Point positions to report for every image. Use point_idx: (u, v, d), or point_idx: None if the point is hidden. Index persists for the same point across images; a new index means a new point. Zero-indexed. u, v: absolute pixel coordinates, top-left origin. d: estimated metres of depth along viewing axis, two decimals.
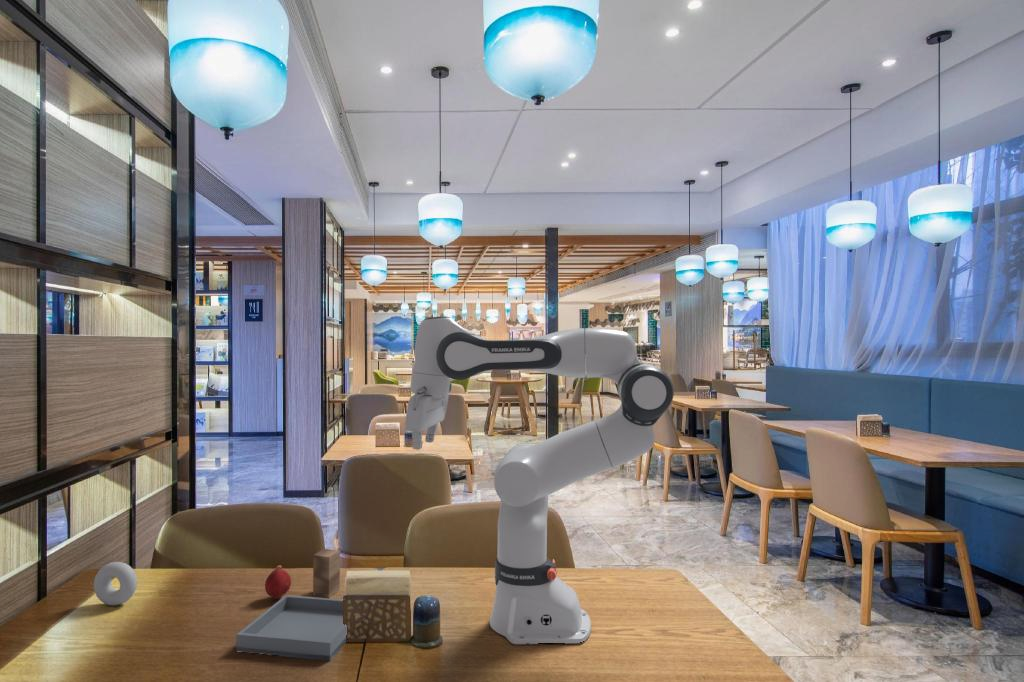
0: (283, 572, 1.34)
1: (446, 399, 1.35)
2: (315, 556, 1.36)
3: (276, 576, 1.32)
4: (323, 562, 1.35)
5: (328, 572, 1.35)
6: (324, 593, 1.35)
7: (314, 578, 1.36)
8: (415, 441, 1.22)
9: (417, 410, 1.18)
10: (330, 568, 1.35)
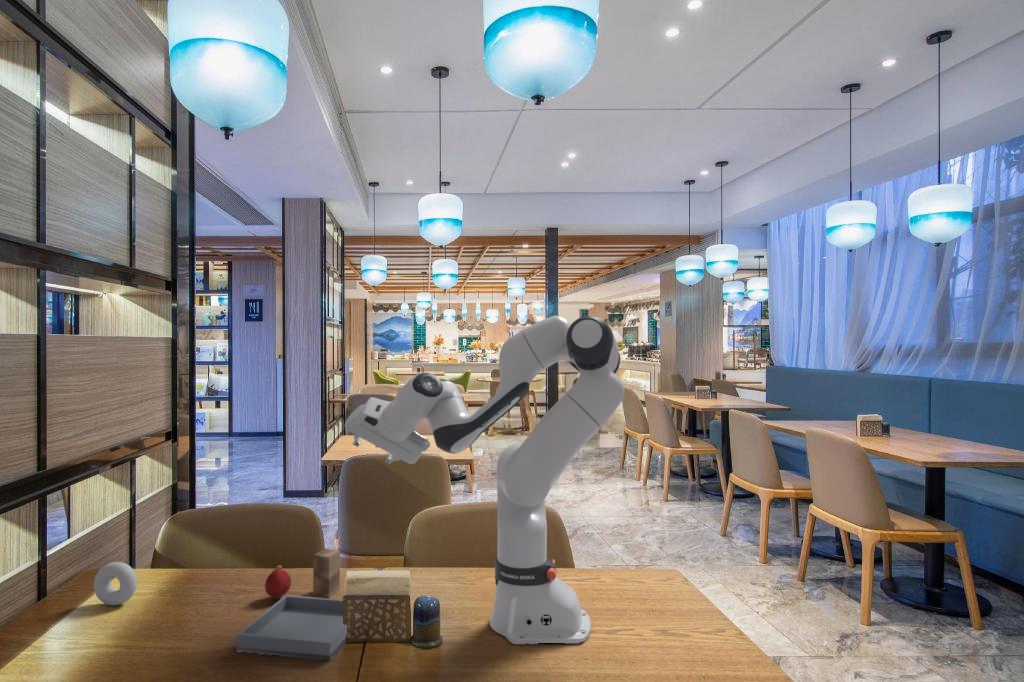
0: (283, 572, 1.34)
1: None
2: (315, 556, 1.36)
3: (276, 576, 1.32)
4: (323, 562, 1.35)
5: (328, 572, 1.35)
6: (324, 593, 1.35)
7: (314, 578, 1.36)
8: None
9: None
10: (330, 568, 1.35)
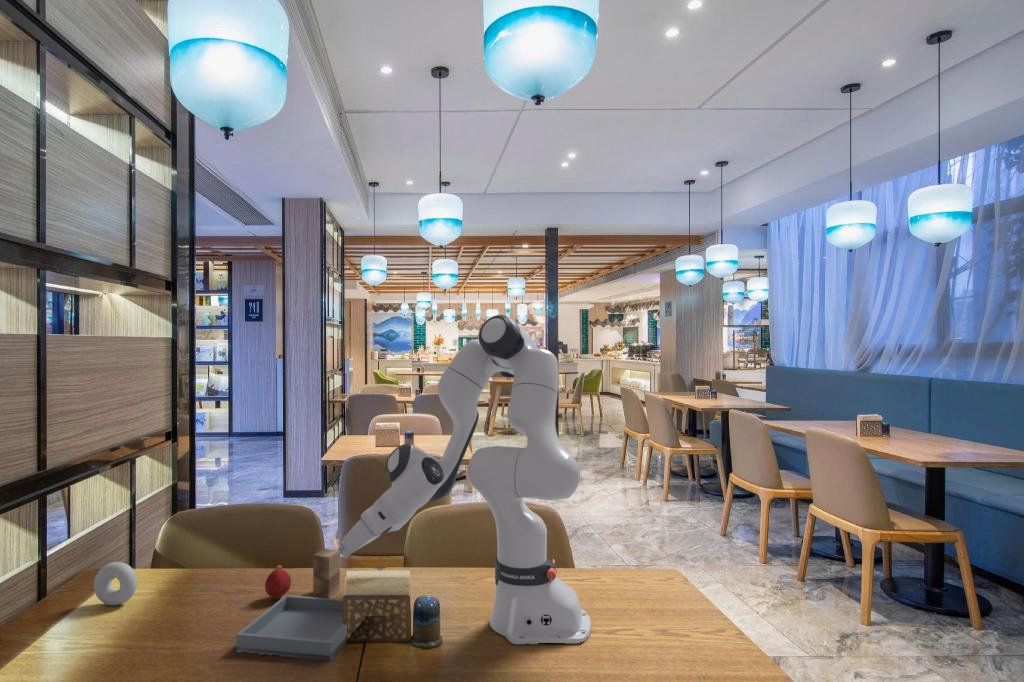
0: (283, 572, 1.34)
1: None
2: (315, 556, 1.36)
3: (276, 576, 1.32)
4: (323, 562, 1.35)
5: (328, 572, 1.35)
6: (324, 593, 1.35)
7: (314, 578, 1.36)
8: None
9: None
10: (330, 568, 1.35)
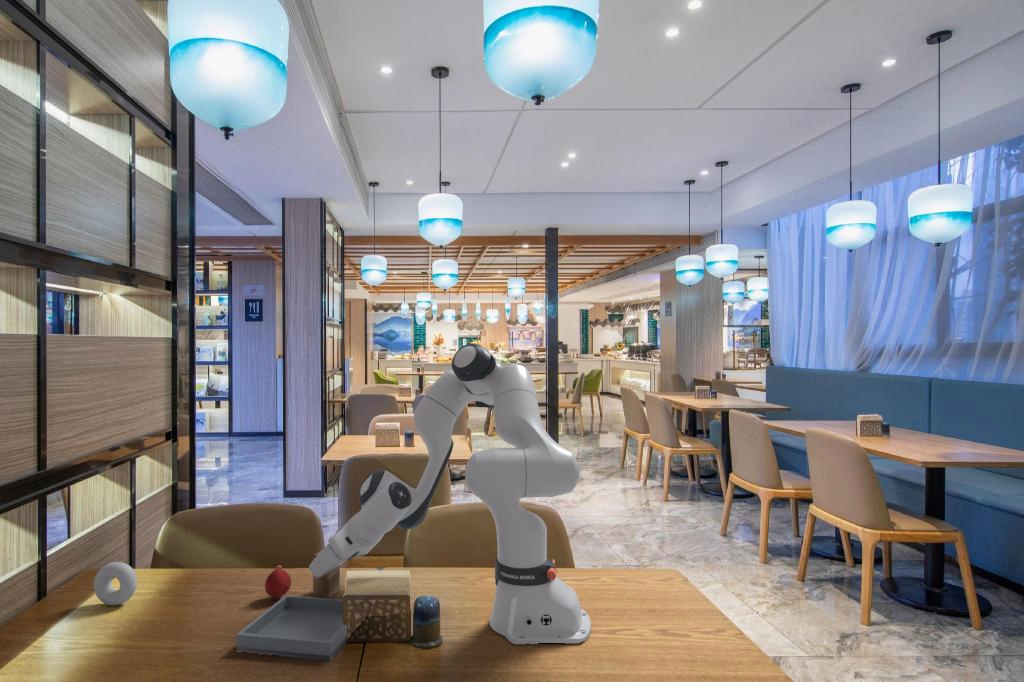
0: (283, 572, 1.34)
1: None
2: (315, 556, 1.36)
3: (276, 576, 1.32)
4: None
5: (328, 572, 1.35)
6: (324, 593, 1.35)
7: (314, 578, 1.36)
8: None
9: None
10: None
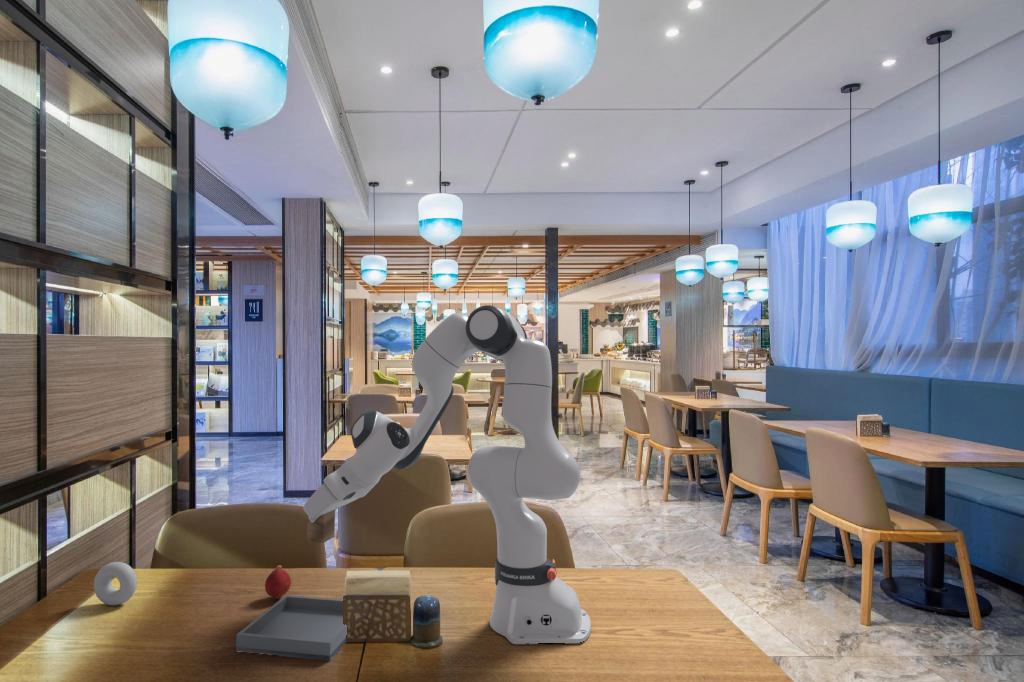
0: (283, 572, 1.34)
1: None
2: None
3: (276, 576, 1.32)
4: None
5: (323, 516, 1.31)
6: (319, 538, 1.31)
7: (308, 522, 1.31)
8: None
9: None
10: None
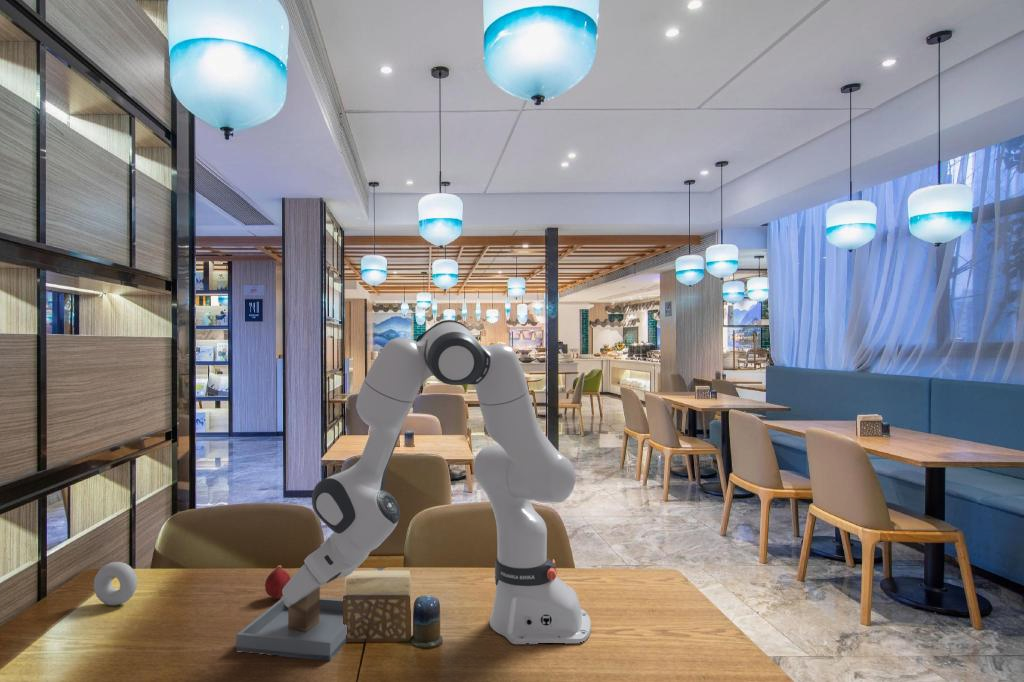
0: (283, 572, 1.34)
1: None
2: None
3: (276, 576, 1.32)
4: None
5: (305, 602, 1.17)
6: (301, 626, 1.17)
7: (289, 609, 1.18)
8: None
9: None
10: (308, 598, 1.17)
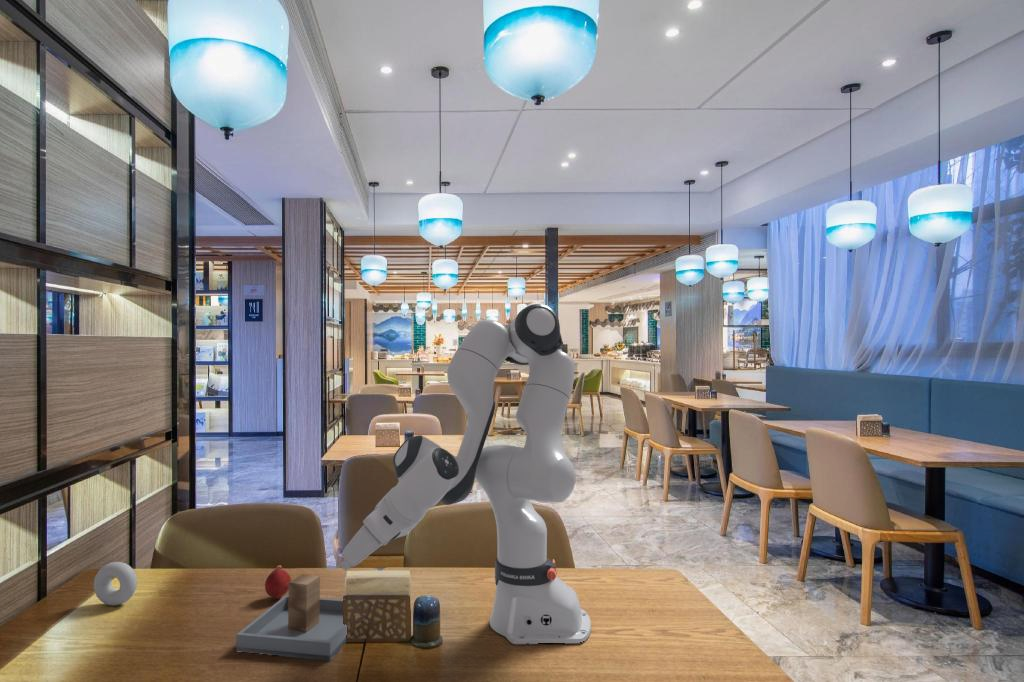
0: (283, 572, 1.34)
1: None
2: (291, 583, 1.18)
3: (276, 576, 1.32)
4: (300, 590, 1.17)
5: (305, 602, 1.17)
6: (301, 626, 1.17)
7: (289, 609, 1.18)
8: None
9: None
10: (308, 598, 1.17)
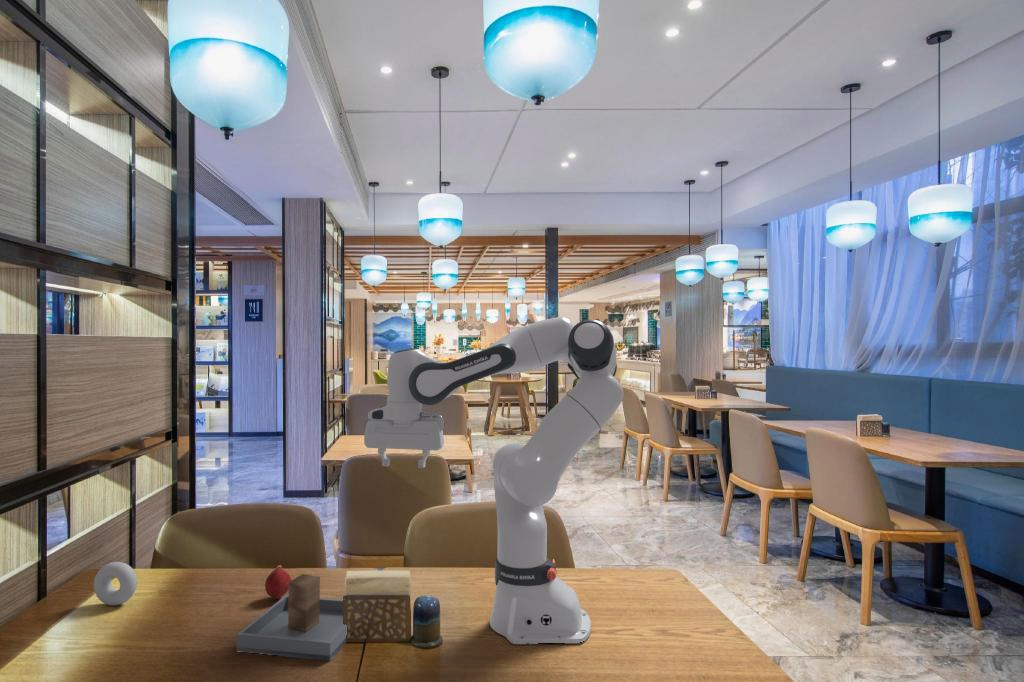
0: (283, 572, 1.34)
1: None
2: (291, 583, 1.18)
3: (276, 576, 1.32)
4: (300, 590, 1.17)
5: (305, 602, 1.17)
6: (301, 626, 1.17)
7: (289, 609, 1.18)
8: (424, 460, 1.39)
9: (441, 430, 1.40)
10: (308, 598, 1.17)
